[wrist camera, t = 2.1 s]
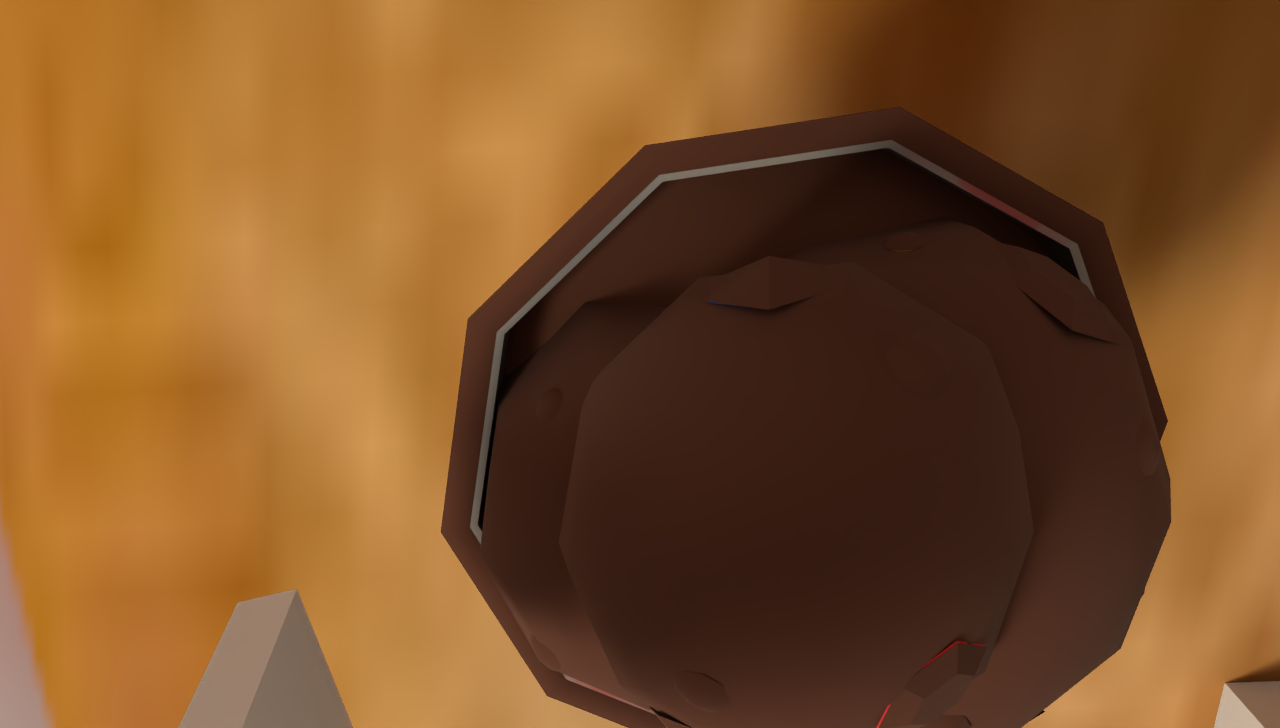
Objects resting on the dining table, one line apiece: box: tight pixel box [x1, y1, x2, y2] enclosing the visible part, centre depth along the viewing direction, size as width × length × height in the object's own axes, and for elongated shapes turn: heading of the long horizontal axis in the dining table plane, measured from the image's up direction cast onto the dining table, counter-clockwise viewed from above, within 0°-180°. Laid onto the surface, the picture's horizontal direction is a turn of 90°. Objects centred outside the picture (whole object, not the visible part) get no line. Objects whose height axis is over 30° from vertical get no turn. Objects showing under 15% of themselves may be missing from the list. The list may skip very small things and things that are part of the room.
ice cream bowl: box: [441, 107, 1171, 728], centre depth 18 cm, size 11×11×15 cm
